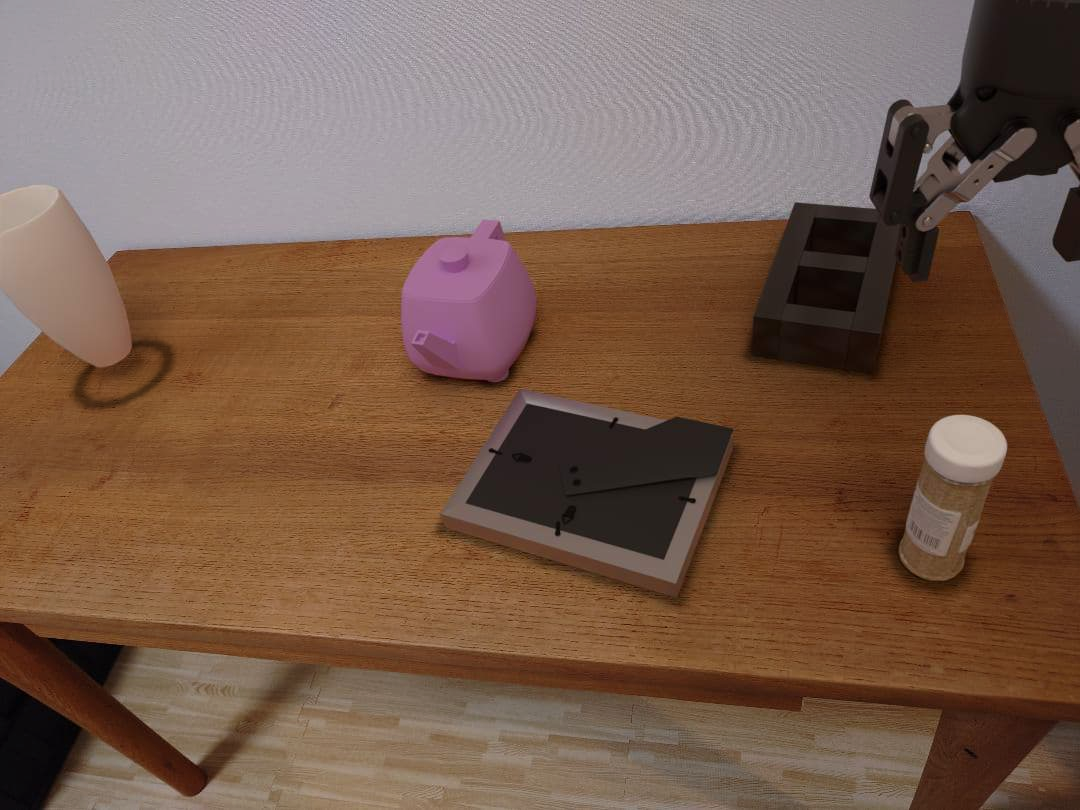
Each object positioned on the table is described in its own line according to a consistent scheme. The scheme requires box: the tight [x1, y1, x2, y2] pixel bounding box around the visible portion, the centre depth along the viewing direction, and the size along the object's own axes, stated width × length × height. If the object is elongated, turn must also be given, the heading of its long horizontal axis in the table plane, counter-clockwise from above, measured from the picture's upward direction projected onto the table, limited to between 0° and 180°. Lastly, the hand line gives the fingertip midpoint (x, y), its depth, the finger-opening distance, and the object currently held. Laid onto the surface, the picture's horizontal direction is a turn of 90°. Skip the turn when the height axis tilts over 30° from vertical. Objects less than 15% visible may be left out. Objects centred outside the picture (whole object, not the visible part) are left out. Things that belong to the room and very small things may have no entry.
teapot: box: [400, 219, 538, 383], centre depth 81 cm, size 20×12×13 cm, turn 161°
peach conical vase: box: [0, 184, 133, 368], centre depth 85 cm, size 10×10×22 cm
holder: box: [751, 201, 900, 375], centre depth 81 cm, size 11×20×5 cm, turn 157°
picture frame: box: [439, 388, 734, 599], centre depth 69 cm, size 16×3×21 cm
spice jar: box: [898, 414, 1008, 582], centre depth 56 cm, size 5×5×14 cm
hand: (989, 264), depth 47 cm, fingers open, 8 cm apart
